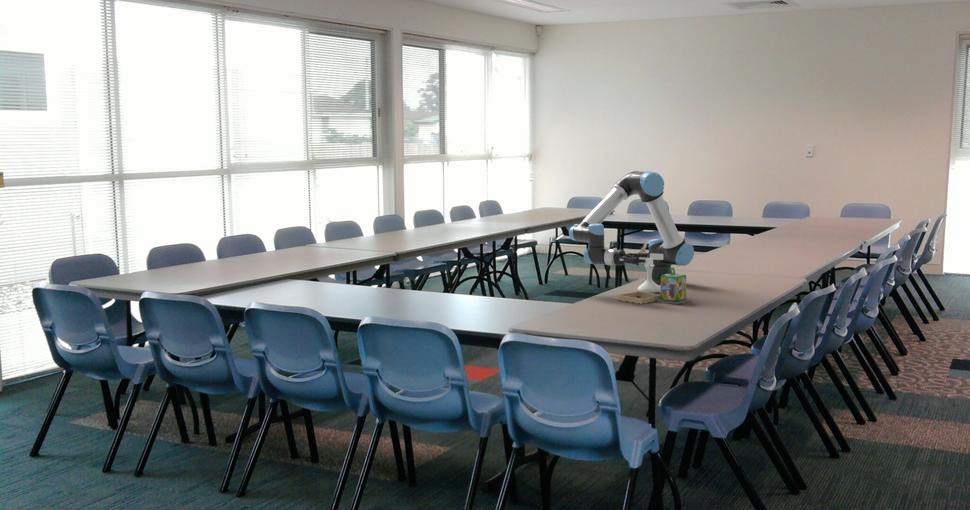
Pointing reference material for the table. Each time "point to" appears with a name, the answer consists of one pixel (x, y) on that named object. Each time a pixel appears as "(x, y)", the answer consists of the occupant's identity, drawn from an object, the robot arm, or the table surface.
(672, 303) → the charcoal mat
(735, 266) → the table surface
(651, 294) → the light wooden square frame
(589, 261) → the robot arm
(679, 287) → the chalk box
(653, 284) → the flower in vase
